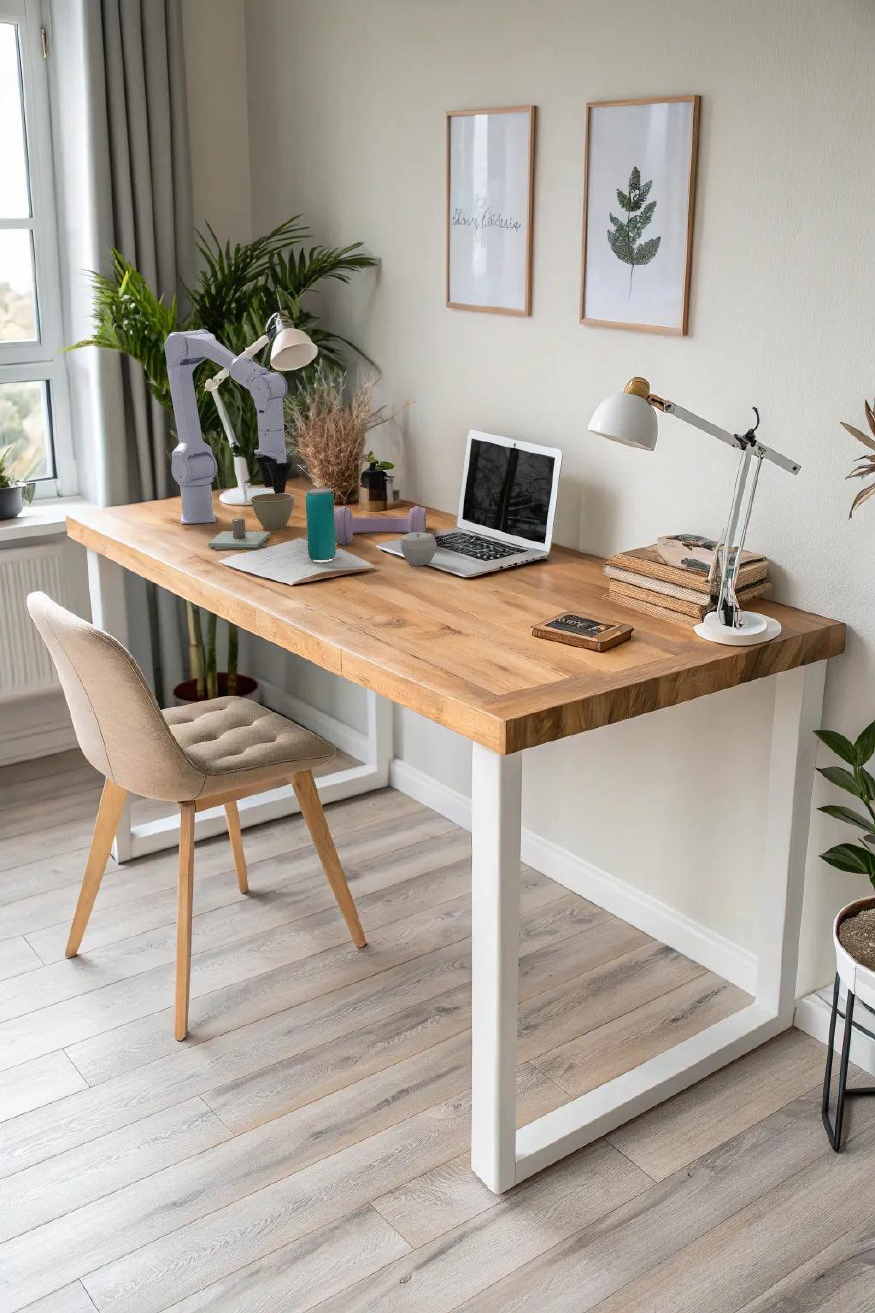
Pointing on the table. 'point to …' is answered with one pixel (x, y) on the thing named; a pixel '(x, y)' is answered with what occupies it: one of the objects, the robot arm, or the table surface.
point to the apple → (418, 548)
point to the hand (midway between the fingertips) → (274, 489)
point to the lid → (239, 536)
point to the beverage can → (320, 523)
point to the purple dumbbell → (376, 524)
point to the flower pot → (273, 509)
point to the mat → (237, 547)
